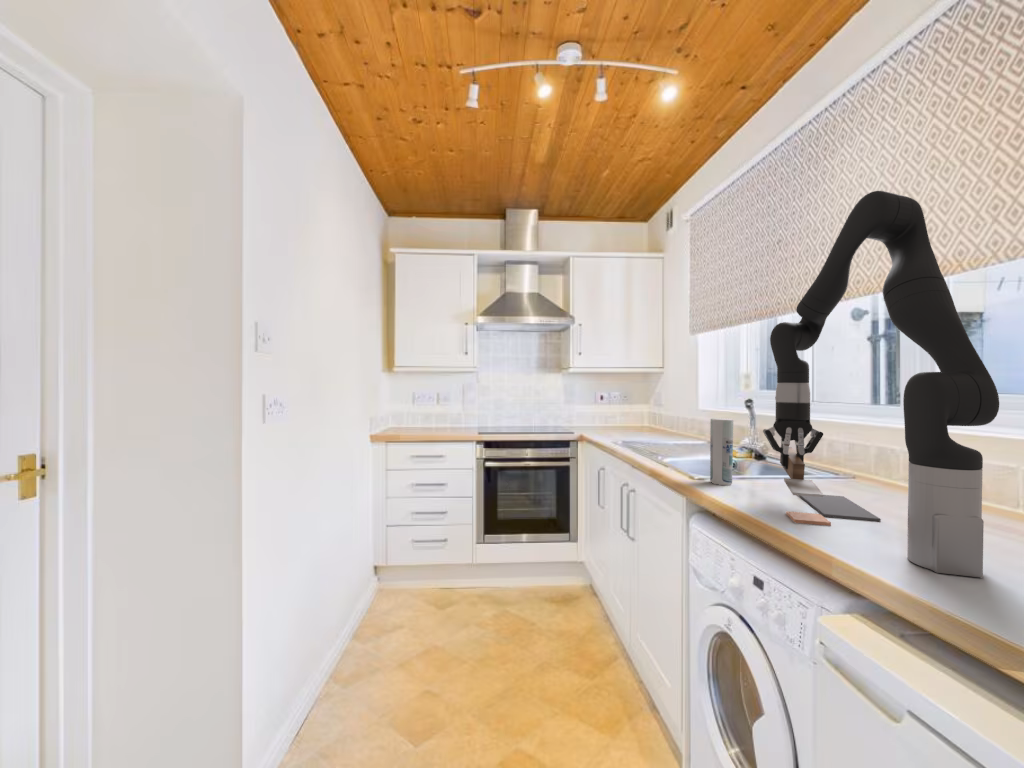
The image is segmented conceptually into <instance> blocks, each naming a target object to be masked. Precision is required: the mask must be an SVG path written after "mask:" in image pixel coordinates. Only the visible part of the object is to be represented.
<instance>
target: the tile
mask: <svg viewBox="0 0 1024 768" xmlns="http://www.w3.org/2000/svg"><path fill="white" fill-rule="evenodd" d="M786 514H787V515H788V516H789V517H790V518H791V519H792V520H793V521H794V522H796V524H804V525H805V524H807V525H819V526H828V527H829V526H832V522H831V521H830V520H829V519H827V517H824V516H823V515H822V514H820V513H812V512H810V513H809V512H800V511H799V512H798V511H787V510H786V511H785V515H786ZM787 515H786V516H787ZM788 516H787V517H788ZM789 517H788V518H789ZM790 518H789V519H790ZM791 519H790V520H791ZM793 521H792V522H793ZM794 522H793V523H794Z"/></svg>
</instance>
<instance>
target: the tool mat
mask: <svg viewBox="0 0 1024 768" xmlns="http://www.w3.org/2000/svg"><path fill="white" fill-rule="evenodd" d="M797 497H799V498H800V499H802V500H803V501H804V502H805V503H807V505H809V506H810V507H812V508H813V509H814V510H816V511H817V512H818V514H821V515H822V516H823V517H824V518H835V519H836V518H837V519H847V520H856V521H857V520H858V521H859V520H860V521H871V522H881V520H882V519H881V518H880V517H879V516H877V515H875V514H873V513H872V512H870V511H869V510H867V509H865V508H864V507H862V506H861V505H858V504H857V503H855V502H854V501H852V500H850V499H849V498H847V497H845V496H843V495H832V494H823V497H814V496H799V495H797Z"/></svg>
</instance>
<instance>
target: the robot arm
mask: <svg viewBox="0 0 1024 768" xmlns="http://www.w3.org/2000/svg"><path fill="white" fill-rule="evenodd" d="M866 239H869V240H873V241H879V242H881V243H882V244H884V245H885V247H886V250H887V251H888V253H889V256H890V260H891V266H890V270H889V272H888V274H887V276H886V278H885V280H884V282H883V286H882V296H883V301H884V305H885V307H886V310H887V313H888V316H889V318H890V320H891V322H892V323H893V325H894V326H895V327H896V328H897V329H898V330H899V331H900V332H901V333H902V334H904V335H905V336H906V337H907V338H909V340H911V341H912V342H914V343H915V344H916V345H917V346H919V347H920V348H921V349H923V350H924V352H926V353H927V354H928V356H930V357H931V358H932V359H933V361H934V362H935V364H936V365H937V368H938V369H939V371H924V372H923V371H922V372H918V373H915V374H913V375H912V376H910V378H909V379H908V380H907V382H906V385H905V387H904V390H903V419H904V421H903V422H904V441H905V446H906V449H907V453H908V475H907V476H908V480H907V481H908V482H907V534H906V535H907V555H906V556H907V560H908V561H910V562H912V563H913V564H915V565H918V566H919V567H922V568H925V569H929V570H931V571H933V572H934V573H937V574H946V575H947V574H948V575H954V576H957V575H958V576H964V577H971V578H972V577H974V578H981V579H982V578H984V577H983V576H984V522H985V521H984V519H982V518H983V516H982V515H983V514H982V513H983V509H982V508H983V468H984V467H983V463H984V462H983V461H984V459H983V454H982V453H981V452H980V451H979V450H977V449H974V448H971V447H968V446H965V445H962V444H960V443H958V442H957V441H955V440H953V439H952V438H951V436H950V435H949V429H948V426H949V427H950V426H953V427H954V426H955V427H981V426H986V425H987V424H990V423H992V422H993V421H994V420H995V418H996V417H997V416H998V413H999V410H1000V398H999V397H1000V396H999V392H998V389H997V386H996V384H995V381H994V380H993V378H992V376H991V374H990V373H989V371H988V369H987V366H986V365H985V363H984V362H983V360H982V359H981V357H980V356H979V354H978V352H977V350H976V349H975V347H974V344H973V343H972V341H971V340H970V338H969V336H968V333H967V331H966V329H965V327H964V325H963V323H962V320H961V318H960V316H959V313H958V311H957V308H956V305H955V303H954V300H953V297H952V295H951V292H950V291H951V290H949V287H948V284H947V281H946V280H945V278H944V276H943V273H942V271H941V269H940V265H939V264H938V261H937V258H936V255H935V253H934V250H933V248H932V245H931V242H930V237H929V234H928V229H927V225H926V220H925V215H924V212H923V208H922V206H921V205H920V203H919V202H918V201H917V200H916V199H914V198H912V197H910V196H905V195H901V194H899V193H898V194H896V193H893V192H888V191H885V190H875V191H871V192H869V193H866V194H865V195H864V196H863V197H861V198H860V199H859V200H858V201H857V203H856V204H855V205H854V207H853V208H852V210H851V211H850V213H849V215H848V217H847V219H845V222H844V224H843V225H842V228H841V230H840V232H839V234H838V236H837V237H836V239H835V242H834V243H833V246H832V248H831V250H830V252H829V254H828V256H827V258H826V260H825V262H824V264H823V266H822V268H821V270H820V271H819V273H818V275H817V277H816V278H815V279H814V281H813V283H812V284H811V286H810V287H809V288H808V290H807V291H806V292H805V294H804V295H803V297H802V298H801V299H800V301H799V302H798V304H797V306H796V309H795V311H796V313H797V314H798V315H799V317H801V319H800V321H798V322H790V321H787V322H786V321H785V322H779V323H777V324H776V325H775V326H774V327H773V328H772V330H771V333H770V337H769V341H770V342H769V343H770V347H771V351H772V355H773V358H774V362H775V364H776V389H775V399H774V400H775V421H774V423H773V426H772V427H769V428H764V429H763V430H762V433H763V434H764V436H765V438H766V439H767V442H768V443H769V445H770V447H771V448H772V450H774V451H775V452H777V453H780V455H781V463H780V465H781V467H782V468H783V467H784V468H783V469H784V470H785V469H788V456H789V455H788V450H789V447H790V445H791V441H794V445H795V453H796V454H797V456H798V457H799V458H800V459H801V460H802V461H803V463H804V464H805V462H804V461H805V460H804V458H805V455H806V454H812V453H813V452H814V450H815V449H816V447H817V446H818V444H819V442H820V441H821V440H822V438H823V436H824V433H823V432H822V431H821V430H820V431H819V430H816V429H815V428H813V425H812V424H811V388H810V365H809V363H808V361H806V360H804V359H801V358H800V357H799V355H798V352H799V351H800V352H801V351H802V352H803V351H807V350H809V349H810V348H811V347H813V346H814V345H815V344H816V342H818V340H819V338H820V336H821V333H822V331H823V329H824V326H825V325H826V324H825V323H826V321H827V318H828V317H829V316H830V314H831V313H832V312H833V311H834V309H835V308H836V307H837V306H838V305H839V302H840V301H841V300H842V298H843V297H844V295H845V294H846V291H847V289H848V286H849V279H850V271H851V265H852V261H853V259H854V256H855V254H856V252H857V250H858V249H859V248H860V247H861V246H862V244H863V243H864V242H865V241H866ZM775 432H776V433H775ZM776 434H778V436H779V437H780V438H781V439H780V445H779V444H778V442H777V440H776V438H775V437H774V436H775V435H776ZM809 434H810V436H809V437H810V439H809V441H808V442H807V444H805V438H806V437H807V436H808V435H809ZM805 445H806V446H805Z"/></svg>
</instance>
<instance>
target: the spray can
mask: <svg viewBox="0 0 1024 768" xmlns="http://www.w3.org/2000/svg"><path fill="white" fill-rule="evenodd" d="M709 435H710V442H709V443H710V445H709V447H710V450H709V451H710V454H709V458H710V460H709V461H710V463H709V464H710V465H709V468H710V469H709V470H710V471H709V479H710V480H709V481H710V483H711V482H712V483H714V484H713V485H716V484H719V485H718V486H731V484H733V459H734V458H733V457H734V456H733V455H734V453H733V452H734V449H733V448H734V418H722V417H721V418H720V417H719V418H717V417H716V418H715V417H712V418H710V433H709ZM712 483H711V484H712Z"/></svg>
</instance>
